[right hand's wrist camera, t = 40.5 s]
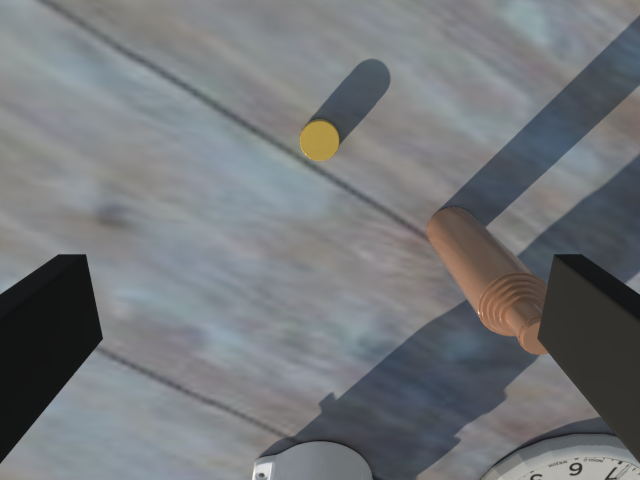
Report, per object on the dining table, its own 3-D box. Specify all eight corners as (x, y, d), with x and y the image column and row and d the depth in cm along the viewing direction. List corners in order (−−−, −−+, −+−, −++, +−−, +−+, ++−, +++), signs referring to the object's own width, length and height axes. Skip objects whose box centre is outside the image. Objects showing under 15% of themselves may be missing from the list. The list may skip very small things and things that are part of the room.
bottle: (464, 257, 49) (561, 379, 29) (420, 245, 49) (488, 362, 29) (482, 213, 47) (599, 313, 28) (436, 201, 47) (522, 293, 27)
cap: (321, 109, 44) (321, 111, 42) (346, 139, 45) (348, 142, 43) (292, 136, 44) (291, 139, 42) (318, 165, 46) (318, 169, 44)
